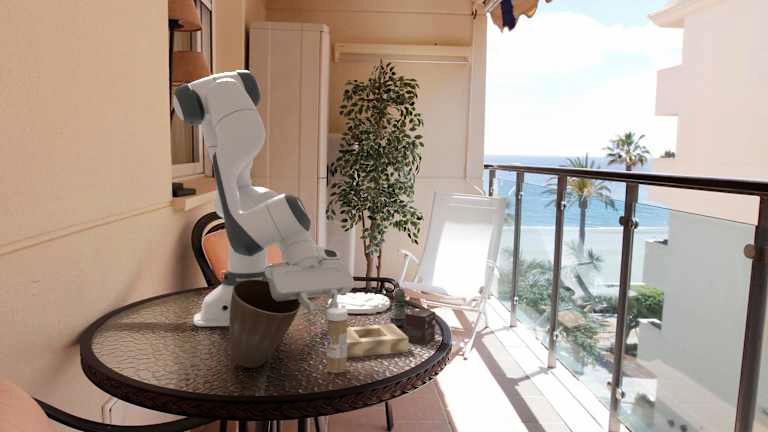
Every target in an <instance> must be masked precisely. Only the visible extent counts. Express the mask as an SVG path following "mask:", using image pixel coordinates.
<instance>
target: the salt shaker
mask: <svg viewBox="0 0 768 432" xmlns="http://www.w3.org/2000/svg"><path fill="white" fill-rule="evenodd" d="M405 294H406V293H405V290H403V289H402V288H401V286H400V285H399V286H398V289H395V290H394V293H393V295H394V297H393V299H394V300H393V302H392V303H393V312H392V313H390V314H388V318H389V322H390V324H394V325H395V326H396V327H397V328H398V329H399V330H401V331H402V332H405V313H406V310H405V306H406V301H405V300H406V299H405V297H406V296H405Z"/></svg>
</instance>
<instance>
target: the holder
mask: <svg viewBox="0 0 768 432" xmlns="http://www.w3.org/2000/svg"><path fill="white" fill-rule="evenodd" d="M408 352H409V341H408V337H407V336H406V335H405V332H404V331H401V330H399V329H398V328H397V327H396V326H395V325H394V324H392V323H389V324H386V323H385V324H373V325H361V326H350V327H349V326H347V358H357V357H365V356H377V355H378V356H379V355H388V354H399V353H408Z"/></svg>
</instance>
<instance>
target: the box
mask: <svg viewBox="0 0 768 432" xmlns="http://www.w3.org/2000/svg"><path fill="white" fill-rule="evenodd" d="M404 334H405V335H406V336H407V337H408V343H409V342H410V343H416V344H421V345H427V344H428V343H430V342H432V341H433V340H435V338H436V335H435V334H436V311H432V310H426V309H421V308H414V309H413V310H412V309H411V310H409V311H407V312H405V331H404Z"/></svg>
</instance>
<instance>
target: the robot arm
mask: <svg viewBox="0 0 768 432" xmlns="http://www.w3.org/2000/svg"><path fill="white" fill-rule="evenodd" d="M172 96H173V98H172V99H173V100H172V103H173V108H174V112H175V114H176V115H177V116H178V117H179V119H180V120H181V121H182V122H183V123H184V124H186V125H188V126H201V132H202V135H203V141H204V142H205V146H206V149H207V151H208V154H209V157H210V161H211V164H212V168H213V173H214V174H213V175H214V178H215V183H216V194H215V197H214V198H213V209H214V211H215V213H216V214H217V215H218V216H219V217H221V218H222V219H223V221H224V227H225V234H226V235H225V236H226V239H227V242H228V246H227V248H228V249H227V250H228V253H227V254H228V270H224V269H223V270H221V271H220V273H219V277H220V279H221V284H220V285H219V286H217V287H216V288H215V289H214V290H212V291H211V292H210V293H208V294H207V295H206V296H205V297H204V299H203V301H202V305H201V310H200V311H198V312H197V313H195V315H194V316H193V324H194V325H195V326H197V327H229V320H230V306H231V298H232V291H233V287H234V285H235V284H236V283H238V282H240V281H243V280H250V279H254V280H264V281H268V282H269V287H270V291H271V295H272V298H273V299H274V300H276V301H286V300H294V299H298V301H299V302H300V303H301V305H302V306H303V307H304V308H305V309H306V311H307V313H308V314H310V315H311V314H316V312H317V310H318V307H317V304H316V303H315V302H311V301H310V300H309V299H311V298H318V297H326V296H327V297H328V298H329V300H330V299H331V301H330V303H329V304H328V305H327V306H329V307H328V309H330V308H338V307H339V305H338V303H337V295H346V294H347V293H351V291H352V289H353V287H354V284H355V280H354V277H353V275H352V273H351V271H350V269H349V268H348V266H347V265H346V263H345V262H343V260H341V253H340V252H339V251H337V250H334V249H329V248H325V247H323V246H319V245H317V243H316V241H314V240H313V239H312V233H311V223H312V221H311V219H310V217H309V216H308V213H307V211H306V208H305V206H304V204H303V202H302V201H301V199H300V198H299V197H297V196H295V195H292V194H291V193H287V192H286V193H283V194H280V195H279V194H278V193H277V192H276V191H274V190H272V189H269V188H266V187H263V186H253V185H252V182H251V170H252V168H253V165H254V158H255V157H256V156H257V155H258V154H259V153H260V151H261V150H262V149H263V146H264V144H265V141H266V137H267V135H266V134H267V133H266V128H265V126H264V121H263V120H262V117H261V115H260V113H259V111H258V109H257V107H258V105H259V103H260V101H261V89H260V85H259V82H258V81H257V79H256V78H255V76H254V74H253V73H251V71H248V70H244V69H242V70H234V71H232V72H223V73H218V74H213V75H210V76H207V77H204V78H201V79H198V80H195V81H192V82H190V83H184V84H181V85H179V86H177V87H176V88H175V89H174V91H173V94H172ZM272 245H276V247H277V248H278V250H280V257H281V260H282V262H279V263H270V264H268V247H271V246H272Z"/></svg>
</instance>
